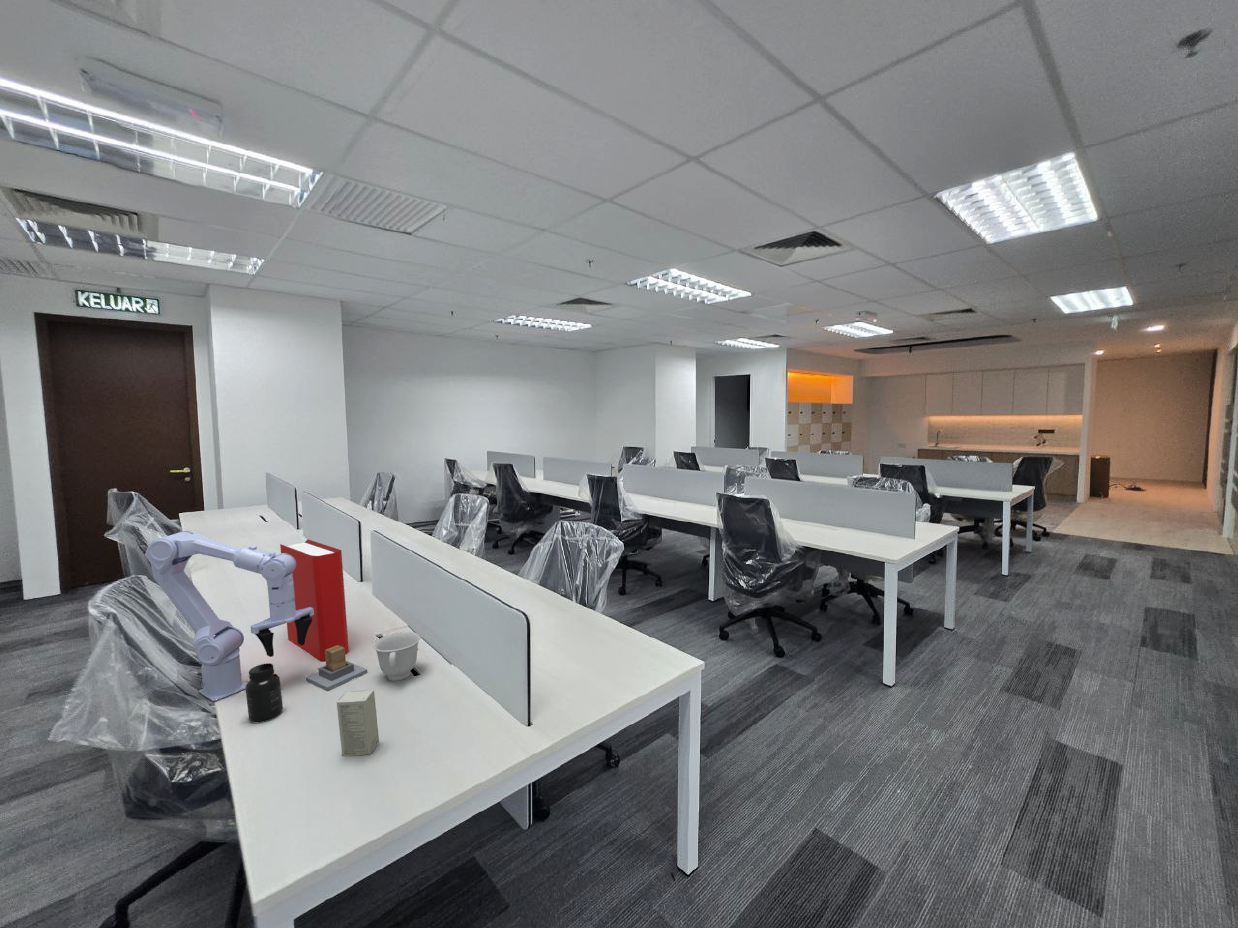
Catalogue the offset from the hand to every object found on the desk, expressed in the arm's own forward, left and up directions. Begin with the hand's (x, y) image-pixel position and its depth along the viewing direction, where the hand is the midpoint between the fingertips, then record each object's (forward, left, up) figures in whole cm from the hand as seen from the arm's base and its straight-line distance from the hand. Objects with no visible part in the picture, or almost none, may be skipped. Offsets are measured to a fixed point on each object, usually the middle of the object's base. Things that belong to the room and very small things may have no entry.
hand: (286, 649), depth 134 cm
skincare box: (+43, -6, -10) cm, 45 cm away
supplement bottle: (+10, -10, -10) cm, 18 cm away
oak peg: (+7, +9, -9) cm, 14 cm away
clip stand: (+7, +9, -10) cm, 15 cm away
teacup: (+23, +17, -10) cm, 30 cm away
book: (-18, +17, -10) cm, 27 cm away
